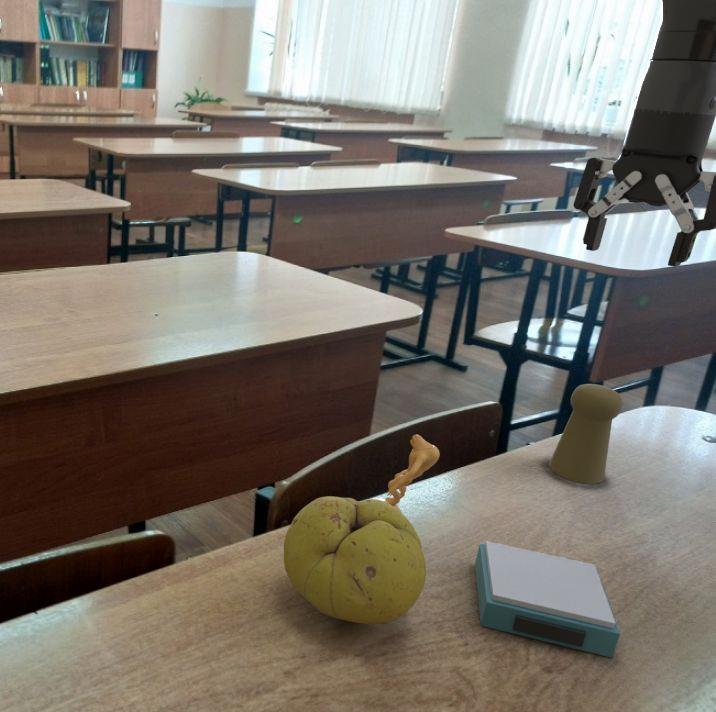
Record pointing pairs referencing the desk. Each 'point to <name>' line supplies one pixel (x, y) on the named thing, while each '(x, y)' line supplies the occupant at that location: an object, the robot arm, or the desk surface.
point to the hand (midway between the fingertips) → (631, 257)
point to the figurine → (412, 469)
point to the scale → (544, 598)
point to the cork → (587, 434)
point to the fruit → (355, 559)
